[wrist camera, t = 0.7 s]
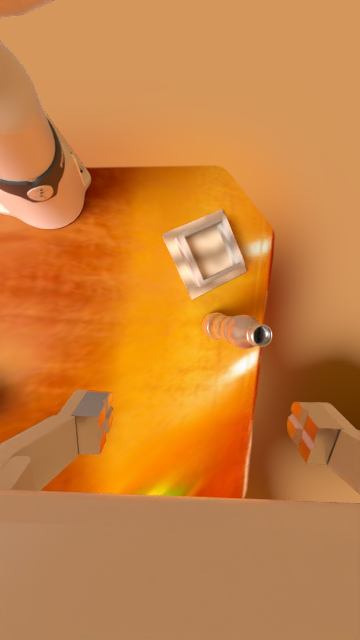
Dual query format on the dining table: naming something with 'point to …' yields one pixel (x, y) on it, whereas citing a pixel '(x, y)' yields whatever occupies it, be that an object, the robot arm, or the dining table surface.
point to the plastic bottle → (236, 330)
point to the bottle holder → (205, 253)
